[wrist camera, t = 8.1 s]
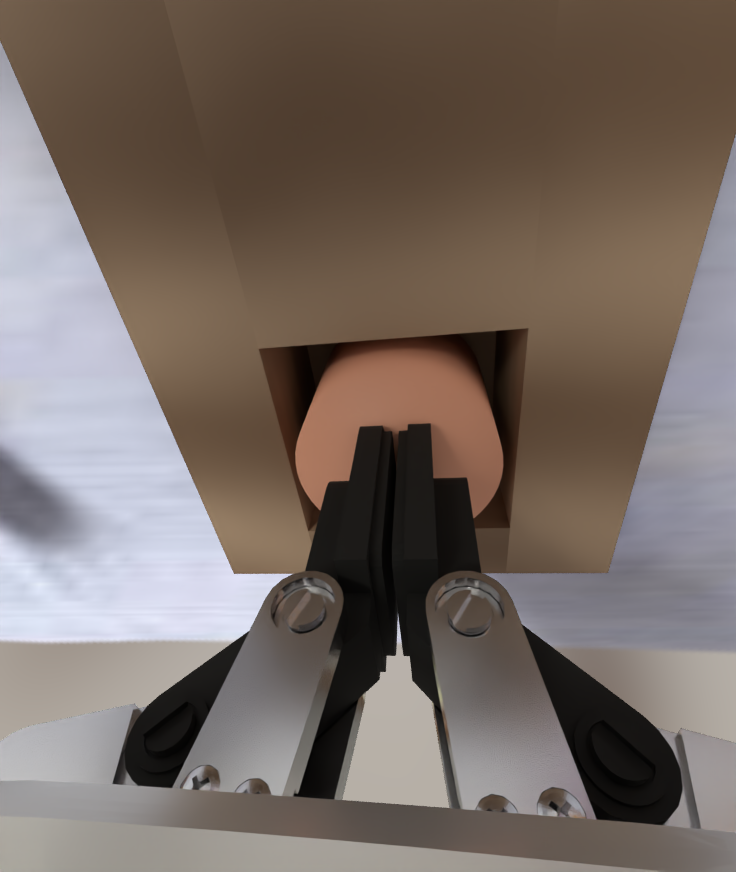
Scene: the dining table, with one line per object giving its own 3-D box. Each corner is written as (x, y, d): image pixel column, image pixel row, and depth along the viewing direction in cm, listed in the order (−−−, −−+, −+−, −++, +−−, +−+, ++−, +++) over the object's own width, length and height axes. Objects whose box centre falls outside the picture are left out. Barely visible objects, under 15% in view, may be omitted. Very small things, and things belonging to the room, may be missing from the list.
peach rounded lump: (310, 320, 13) (274, 384, 10) (484, 306, 12) (510, 370, 9) (336, 456, 16) (315, 542, 12) (479, 451, 15) (498, 540, 12)
